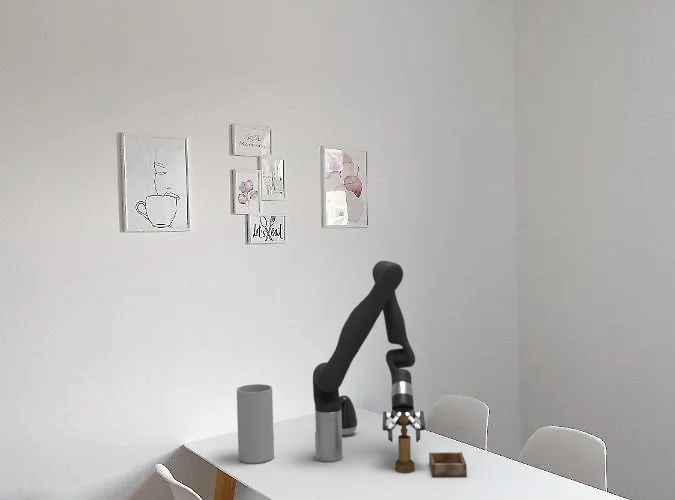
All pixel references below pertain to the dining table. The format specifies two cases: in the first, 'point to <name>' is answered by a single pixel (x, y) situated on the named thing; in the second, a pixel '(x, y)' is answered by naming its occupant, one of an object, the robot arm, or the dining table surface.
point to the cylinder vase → (255, 423)
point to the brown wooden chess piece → (404, 450)
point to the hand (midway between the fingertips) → (404, 440)
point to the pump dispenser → (348, 416)
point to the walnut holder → (447, 464)
